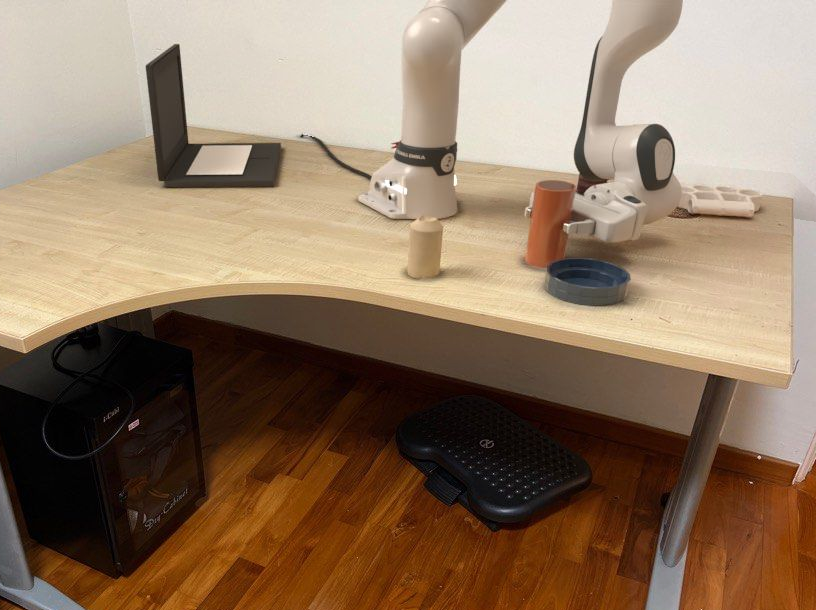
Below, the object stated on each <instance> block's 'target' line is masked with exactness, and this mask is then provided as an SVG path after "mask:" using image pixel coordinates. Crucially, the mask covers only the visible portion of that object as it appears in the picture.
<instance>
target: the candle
mask: <svg viewBox="0 0 816 610" xmlns="http://www.w3.org/2000/svg"><path fill="white" fill-rule="evenodd" d="M443 234H444V225H443V224H442V223H441V222H440V220H439V219H437V218H436V217H434V218H431V217H430V216H428V215H423V216H421V217H420V218H418V219H414V220H413V222H411V223H410V225H409V235H408V236H409V237H408V252H407V253H408V254H407V270H406V272H407V275H408V276H409V277H411V278H413V279H416V280H417V279H418V280H421V279H424V278H434V277H437V276H438V275H439V274H440V272H441V271H440V269H441V261H442V260H441V257H442V248H443V247H442V246H443Z"/></svg>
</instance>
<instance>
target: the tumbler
mask: <svg viewBox="0 0 816 610" xmlns="http://www.w3.org/2000/svg"><path fill="white" fill-rule="evenodd" d="M576 191H577V185H576V184H574V183H572V182H569V181H565V180H557V179H545V180H540V181H537V182H536V183H535V185H534V191H533V192H534V199H533V206H532V213H531V219H530V220H529V228H528V229H529V230H528V236H527V243H526V249H525V250H526V251H525V257H524V261H525V263H527V264H528V265H530V266H532V267H536V268H541V269H546V268H547V266H548V265H549V264H550V263H551V262H554V261H556V260H559V259H565V258H566V257H565V256H566V251H567V245H568V238H569V234H566V233H564V232H563V231H562V229H563V224H564V223H565V222H569V221H571V215H572V209H573V203H574V197H575V193H576Z"/></svg>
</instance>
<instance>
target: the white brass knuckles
mask: <svg viewBox="0 0 816 610" xmlns="http://www.w3.org/2000/svg"><path fill="white" fill-rule="evenodd" d="M680 185H681V190H682V193H681V200H680V202H679V204H678V206H677V207H676V208H677V209H684V210H687V213H689V214H691V215H695V214H698V215H699V214H700V215H712V216H719V217H722V216H729V217H741V218H743V217H744V218H748V219H749V218H752V217H754V214H755V212H758V211H759V210H760V207H761V204H762V200H763V198H764V193H763V192H762V191H760V190H758V189H753V188H744V187H743V188H741V187H735V186H731V185H724V184H705V183H695V184H680Z"/></svg>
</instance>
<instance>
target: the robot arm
mask: <svg viewBox="0 0 816 610" xmlns="http://www.w3.org/2000/svg"><path fill="white" fill-rule="evenodd" d="M507 1H508V0H428V1H427V2H426V4H425V5H424V6H423V8H421V10H420V11H419V12H418V13H417V14H416V15H415V16H413V17H412V18H411V19H410V20H409V22H408V23H407V25H406V26H405V28H404V30H403V33H402V36H401V37H402V38H401V88H402V89H401V91H402V107H401V108H402V110H401V111H402V113H401V128H400V129H401V131H400V140H399V141H396V142H391V143H390V144H391V145H393V146H390V149H391V150H393V149H395V151H394V154H393V157H392V158H391V159H389V160H388V161H387V162H386V163H384V164H383V165H382V166H381V167H379V168H378V169H376V170H374V172H373V174H372V175H370V174H369V173H367V172H364V171H362V170H360V169H357V168H354V167H352V166H350V165H348V164H346V163H345V162H343V161H341V160H340V159H338V158H337V157H336V156H335V155H334V154H333V153H332V151H330V149H329V148H328V147H327V146H326V144H325V143H324V142H323V141H322V139H320V138H318V137H316V136H314V137H312V136H308V135H303V133H301V134H300V136H299V137H300V138H304V137H305V136H306V137H309V138H311V139H312V140H314V141H316V142H318V143H319V144H320V145H321V147H322V148H323V149H324V150H325V152H326V153H327V154H328V156H330V158H331V159H332V160H333V161H335V162H336V163H337V164H339V165H340V166H341V167H344V168H346V169H347V170H349V171H352V172H354V173H356V174H358V175H361V176H364V177H366V178H367V179H369V180H370V182H369V190H367V191H365V192H363V193H361V194H360V195H358V198H357V200H358V202H360V203H362V204H363V205H365V206H368V208H371V209H372V210H374V211H377V212H378V213H379V214H382V215H384V216H386V217H388V218H389V219H393V220H405V219H407V220H408V219H409V220H417V219H418V218H420V217H421V216H423V215H428V216H430V217H431V218H434V217H436V218H437V219H438V220H440V219H445V218H449V217H453V216H455V215H456V214H457V213H458V211H459V210H458V209H459V208H458V205H457V204H458V203H457V196H456V185H457V175H456V174H455V166H456V162H457V157H458V142H457V141H456V140H457V130H458V116H459V103H460V82H461V65H462V52H463V50H464V49H465V48H466V47H467V46H468V44H469V43H470V42H471V41H472V40H473V39H474V37H476V35H477V34H478V33H479V32H480V31H481V30H482V28H483V27H484V26H485V25H486V24H487V23H488V22H489V21H490V20H491V19H492V18H493V17H494V15H496V13H498V11H499V10H500V9H501V8H502V7H503V6H504V4H505V3H506V2H507ZM611 1H612V2H611V9H610V14H609V17H608V22H607V25H606V28H605V30H604V32H603V34H602V36H601V37H600V38H599V39H598V41H597V43H596V45H595V49H594V51H593V55H592V59H591V65H590V71H589V77H588V83H587V89H586V90H587V91H586V94H585V95H586V96H585V102H584V109H583V114H582V121H581V125H580V130H579V133H578V136H577V138H576V142H575V145H574V149H573V161H574V166H575V167H576V169H577V171H578V174H579V173H580V174H581V175H582V176H583V177H584V178H585V179H586V180H588V181H593V182H594V181H606V180H607V181H610V182H607V183H604V184H598V185H594V186H591V187H590V188H588V189H587V190H586V192H585V193H584V194H583V195H582V194H580V193H578V192H575V197H574V203H573V209H572V215H571V221H569V222H565V223H564V224H563V229H562V231H563V232H564V233H566V234H568V236H571V235H575V234H576V235H577V234H578V235H587V236H590V237H593V238H595V239H597V240H600V241H602V242H605V243H613V244H615V243H621V242H627V241H636V240H639V238H640V236H641V233H642V229H643V226H646V225H648V224H649V225H650V224H651V223H652V224H653V223H656V222H657V221H660V220H663V219H665V218H667V217H669V216H670V215H671V214H672V213H673V212H674V211H675V210H676V209H677V208H678V207H677V206H678V204H679V202H680V200H681V193H682V190H681V185H682V184H681V183H680V181H679V179H678V178H677V177H676V175H675V174H674V168H675V164H676V163H675V162H676V147H675V143H674V139H673V137H672V135H671V134H670V132H669V131H668V129H667V128H665V126H663V125H662V124H659V123H640V124H639V123H638V124H632V125H630V124H629V125H628V124H627V125H617V124H616V116H617V110H618V105H619V98H620V94H621V89H622V88H621V87H622V82H623V79H624V76H625V74H626V73H627V71H628V69H630V67H632V65H633V64H634V63H635V62H636V61H637V60H639V59H640V58H642V57H643V56H645V55H646V54H648V53H650V52H652V50H655V49H656V48H658V47H659V46H660V45H662V44H663V43H664V42H665V41H666V40H667V39H668V38H669V37H670V36H671V35H672V34H673V32H674V31H675V29H676V28H677V27H678V25H679V21H680V18H681V15H682V10H683V4H684V2H683V1H684V0H611ZM612 180H613V181H612ZM534 192H535V191H533V192H532V193H531V194H530V198H529V204H528V206H526V207H525V208H524V212H523V213H524V214H523V215H524V217H525V218H528V219H530V220H531V213H532V206H533V199H534Z"/></svg>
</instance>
